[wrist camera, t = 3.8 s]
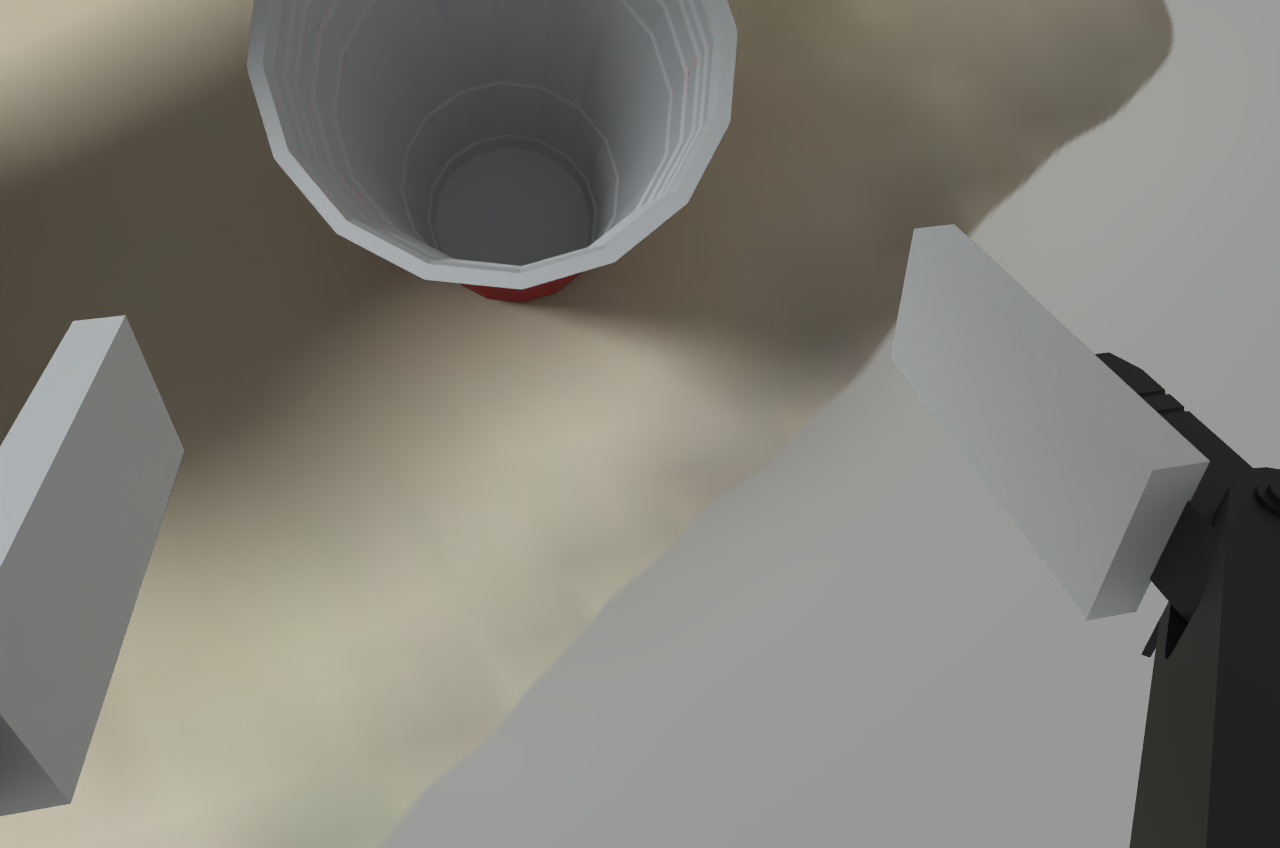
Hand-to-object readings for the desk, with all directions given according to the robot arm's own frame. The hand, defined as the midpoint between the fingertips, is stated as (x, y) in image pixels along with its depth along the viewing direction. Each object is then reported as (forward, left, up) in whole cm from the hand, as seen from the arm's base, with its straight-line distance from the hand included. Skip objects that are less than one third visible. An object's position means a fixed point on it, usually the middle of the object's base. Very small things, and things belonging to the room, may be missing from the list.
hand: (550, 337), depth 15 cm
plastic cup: (0, +7, -15) cm, 17 cm away
